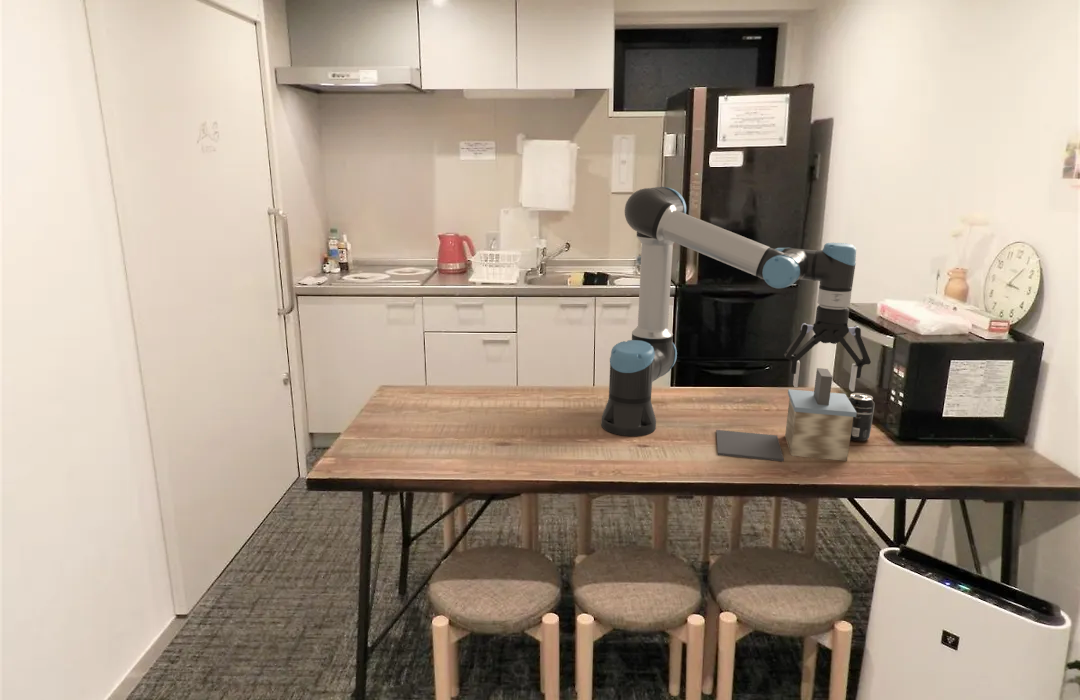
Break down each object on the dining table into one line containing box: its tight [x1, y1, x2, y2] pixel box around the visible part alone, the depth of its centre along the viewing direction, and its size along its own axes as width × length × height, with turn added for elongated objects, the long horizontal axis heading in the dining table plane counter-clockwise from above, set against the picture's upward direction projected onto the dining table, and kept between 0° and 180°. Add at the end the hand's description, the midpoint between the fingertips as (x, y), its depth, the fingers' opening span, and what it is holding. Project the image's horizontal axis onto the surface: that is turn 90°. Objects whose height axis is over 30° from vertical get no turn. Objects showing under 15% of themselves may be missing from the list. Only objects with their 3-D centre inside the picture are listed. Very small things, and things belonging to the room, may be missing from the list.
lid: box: [787, 367, 857, 417], centre depth 183 cm, size 14×14×10 cm
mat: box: [715, 429, 785, 462], centre depth 187 cm, size 16×16×1 cm
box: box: [784, 398, 853, 462], centre depth 185 cm, size 13×13×12 cm
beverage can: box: [847, 392, 875, 442], centre depth 192 cm, size 7×7×12 cm
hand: (823, 387), depth 182 cm, fingers open, 13 cm apart
